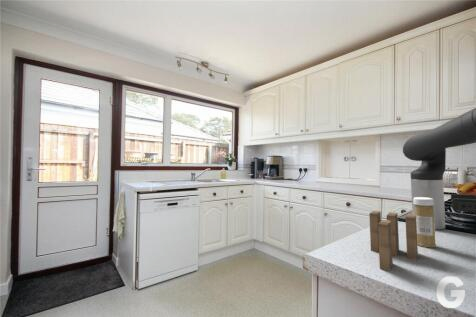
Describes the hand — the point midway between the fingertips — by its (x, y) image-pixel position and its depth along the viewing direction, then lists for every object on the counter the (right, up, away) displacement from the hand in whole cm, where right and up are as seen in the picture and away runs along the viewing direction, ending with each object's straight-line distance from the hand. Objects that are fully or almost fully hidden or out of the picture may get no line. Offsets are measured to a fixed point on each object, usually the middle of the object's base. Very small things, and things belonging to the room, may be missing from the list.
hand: (451, 201), depth 46 cm
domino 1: (-8, -16, +7) cm, 20 cm away
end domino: (-4, -16, +18) cm, 25 cm away
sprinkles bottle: (+11, -16, +20) cm, 28 cm away
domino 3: (+2, -16, +13) cm, 21 cm away
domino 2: (-1, -16, +16) cm, 23 cm away
